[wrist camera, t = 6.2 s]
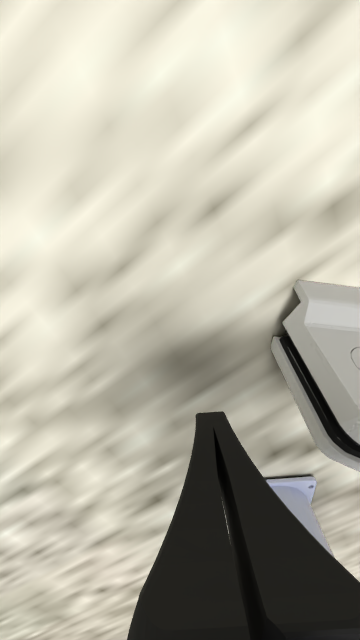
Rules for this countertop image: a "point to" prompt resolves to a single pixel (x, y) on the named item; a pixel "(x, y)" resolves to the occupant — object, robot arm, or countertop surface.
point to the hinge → (325, 366)
